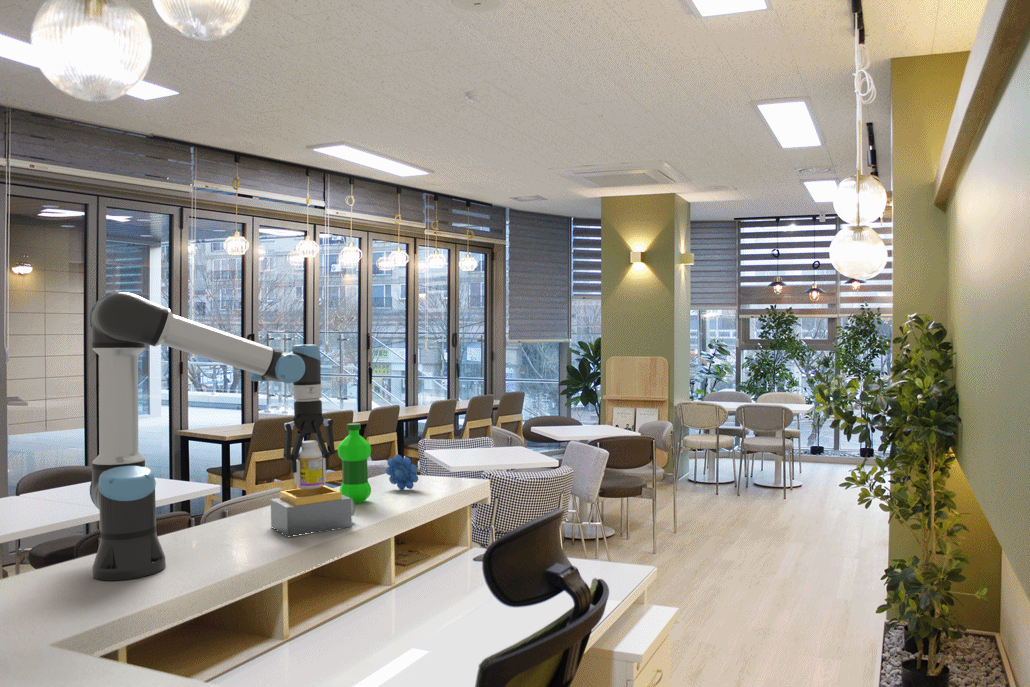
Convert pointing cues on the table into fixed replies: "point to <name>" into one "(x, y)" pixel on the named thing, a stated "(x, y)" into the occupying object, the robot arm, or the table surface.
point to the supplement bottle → (310, 465)
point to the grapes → (402, 472)
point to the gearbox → (311, 510)
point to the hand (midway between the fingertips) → (310, 482)
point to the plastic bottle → (355, 465)
